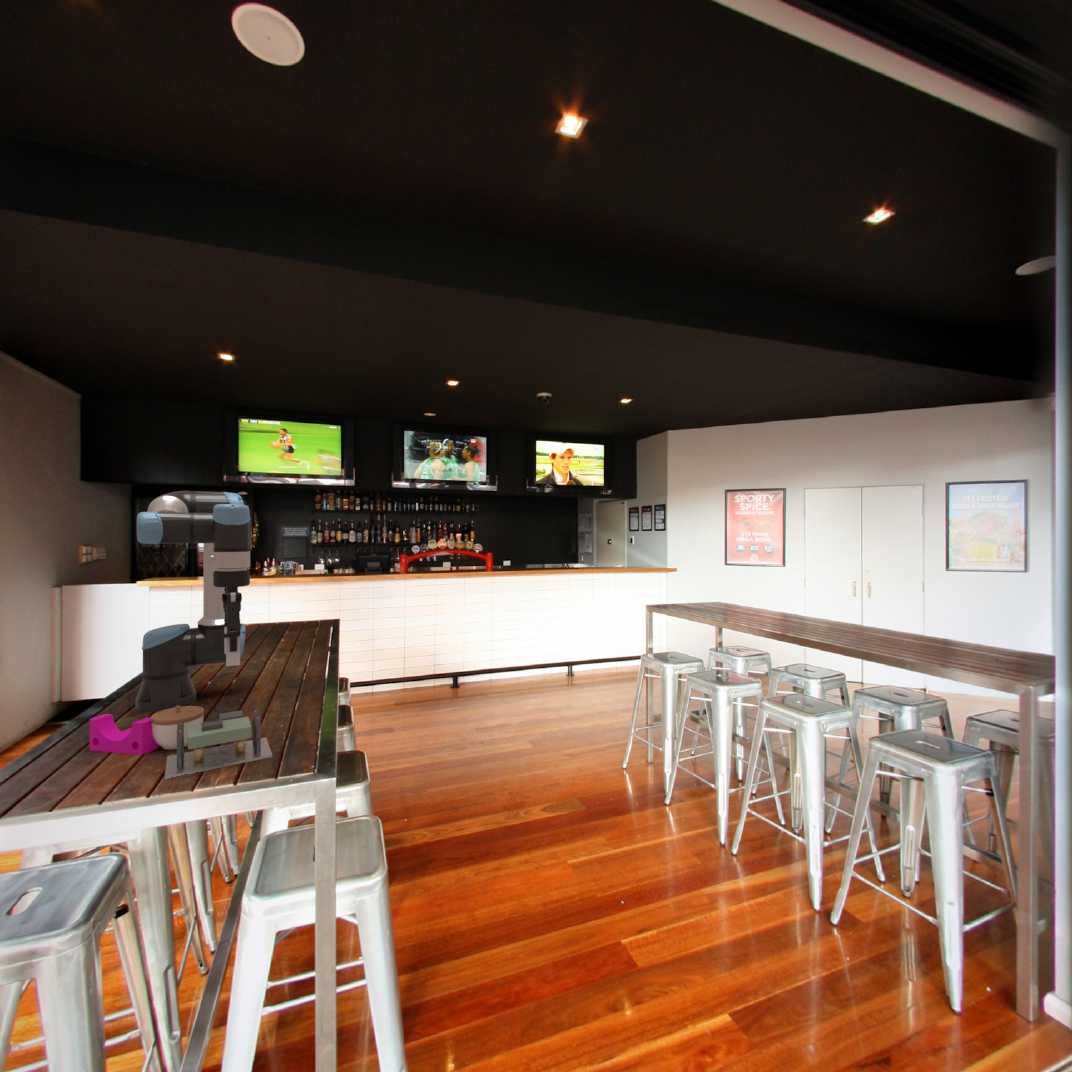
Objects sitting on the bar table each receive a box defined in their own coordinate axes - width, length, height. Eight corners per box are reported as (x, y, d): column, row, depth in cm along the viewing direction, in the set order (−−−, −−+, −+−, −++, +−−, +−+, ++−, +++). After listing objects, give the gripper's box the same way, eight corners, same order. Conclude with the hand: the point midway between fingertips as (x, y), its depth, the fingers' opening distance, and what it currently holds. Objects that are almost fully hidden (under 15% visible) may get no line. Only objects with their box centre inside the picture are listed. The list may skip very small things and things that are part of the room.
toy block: (166, 745, 127) (166, 714, 127) (142, 756, 121) (142, 723, 121) (115, 740, 130) (115, 710, 130) (89, 750, 124) (89, 719, 124)
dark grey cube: (219, 733, 135) (219, 713, 135) (241, 729, 138) (241, 710, 138) (220, 739, 131) (220, 719, 131) (243, 735, 134) (243, 715, 134)
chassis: (167, 760, 119) (167, 720, 119) (266, 741, 130) (266, 704, 130) (164, 781, 109) (164, 737, 109) (272, 758, 120) (272, 719, 120)
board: (188, 737, 119) (188, 722, 119) (248, 726, 126) (248, 712, 126) (187, 749, 113) (187, 733, 113) (251, 737, 119) (251, 722, 119)
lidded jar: (213, 736, 133) (213, 699, 133) (184, 754, 122) (185, 713, 122) (171, 736, 133) (171, 698, 133) (138, 753, 122) (139, 713, 122)
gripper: (212, 566, 133) (212, 649, 133) (213, 574, 112) (213, 673, 112) (246, 565, 137) (246, 646, 137) (253, 573, 116) (253, 668, 116)
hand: (231, 659), depth 125 cm, fingers open, 13 cm apart
